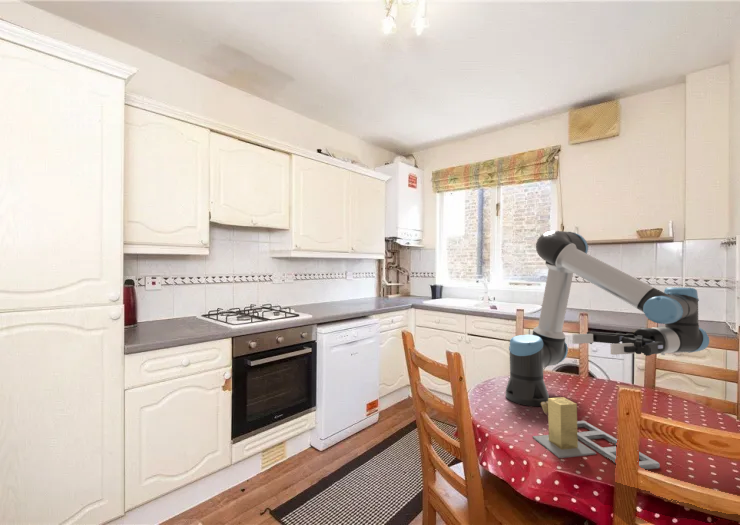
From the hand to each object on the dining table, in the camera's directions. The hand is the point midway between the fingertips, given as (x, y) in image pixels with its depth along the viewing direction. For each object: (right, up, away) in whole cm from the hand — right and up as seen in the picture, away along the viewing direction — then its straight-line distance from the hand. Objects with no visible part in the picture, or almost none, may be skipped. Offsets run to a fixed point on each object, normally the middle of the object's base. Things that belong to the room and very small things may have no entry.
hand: (591, 343), depth 97 cm
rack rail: (+2, -28, -2) cm, 28 cm away
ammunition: (-1, -29, +16) cm, 33 cm away
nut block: (-9, -28, -2) cm, 29 cm away
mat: (-9, -28, -2) cm, 30 cm away
